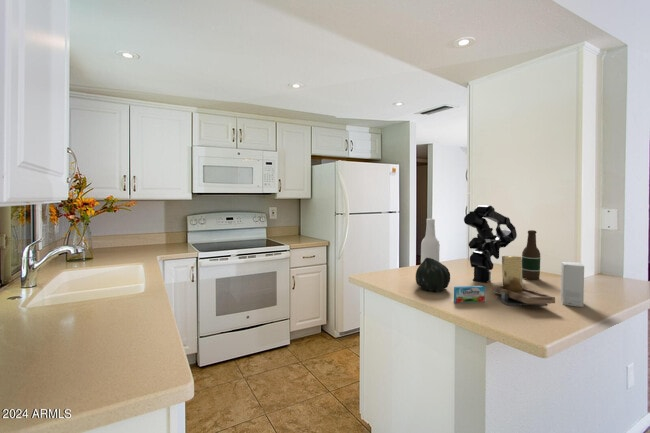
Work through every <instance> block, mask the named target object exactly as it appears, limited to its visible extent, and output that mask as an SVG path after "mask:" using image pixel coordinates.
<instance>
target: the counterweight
mask: <svg viewBox="0 0 650 433" xmlns="http://www.w3.org/2000/svg"><path fill="white" fill-rule="evenodd" d="M501 264H502V265H501V270H502V286H503V289H505V290H509V291H512V292H515V293H520V292H523V288H524V287H523V278H522V256H518V255H517V256H516V255H502V256H501Z"/></svg>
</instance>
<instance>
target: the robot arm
mask: <svg viewBox="0 0 650 433" xmlns="http://www.w3.org/2000/svg"><path fill="white" fill-rule="evenodd" d="M487 219H489V221H493V222H494V223H496V224H497V225H496V228H495V233H496V234H495V235H494V233H493V230H494V228H493V227H490V225H489V223H488V221H487ZM463 221H464V224H465V225H467V226H470V227H471V228H473V229H476V232H477V234H476V236H475V237H473V238H472V239H471V240H470V241H469V242H468V247H469V249H470V250H471V249H473V250H474V251H472V253H471V254H470V255H469V263H470V267H471V268H473V279H472V281H474V282H481V283H489V282H490V281H491V278H492V277H491V274H492V272H491V271H492V270H493V269H494V263H493V262H492V256H493V257H494V258H495V259H496V260H498V259H500V249H502V248H506V247H507V246H508V245H510V243H512V242H514V241H515V240H516V239H517V236H518V234H517V230H516V227H515V225H514V224H513V223H512V222H511V219H510V217H508V216H505V215H503V214H502V213H500V212H497V211H496V209H495V208H494V206H492V205H488V204H487V205H486V204H484V205H482V204H479V205H477V206H476V207H475V209H473V210H470V211H469V213H467V214H466V215H465V216H464V217H463ZM501 225H505V226H506V227H507V228H501Z"/></svg>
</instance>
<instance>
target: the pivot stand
mask: <svg viewBox="0 0 650 433" xmlns="http://www.w3.org/2000/svg"><path fill="white" fill-rule="evenodd" d="M495 299H496V300H498V301H499V302H501V303H503V304H504V305H506V306H547V305H548V303H544V304H526V303H524V302H521V301H518V300H515V299H513V298H510V297H508V293H506V292H502V294H501V296H496V298H495Z"/></svg>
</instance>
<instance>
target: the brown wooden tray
mask: <svg viewBox="0 0 650 433" xmlns="http://www.w3.org/2000/svg"><path fill="white" fill-rule="evenodd" d="M491 287H492V292H494V293H496V294H499V295H502V292H506V293H508V297H510V298H513V299H515V300H518V301H521V302H524V303H526V304H544V303H547V304H556V297H555V296H553V295H550V294H546V293H542V292H539V291H535V290H532V289H528V288H525V287H523V292H520V293H515V292H512V291H509V290H505V289H503V285H492V286H491Z"/></svg>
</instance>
